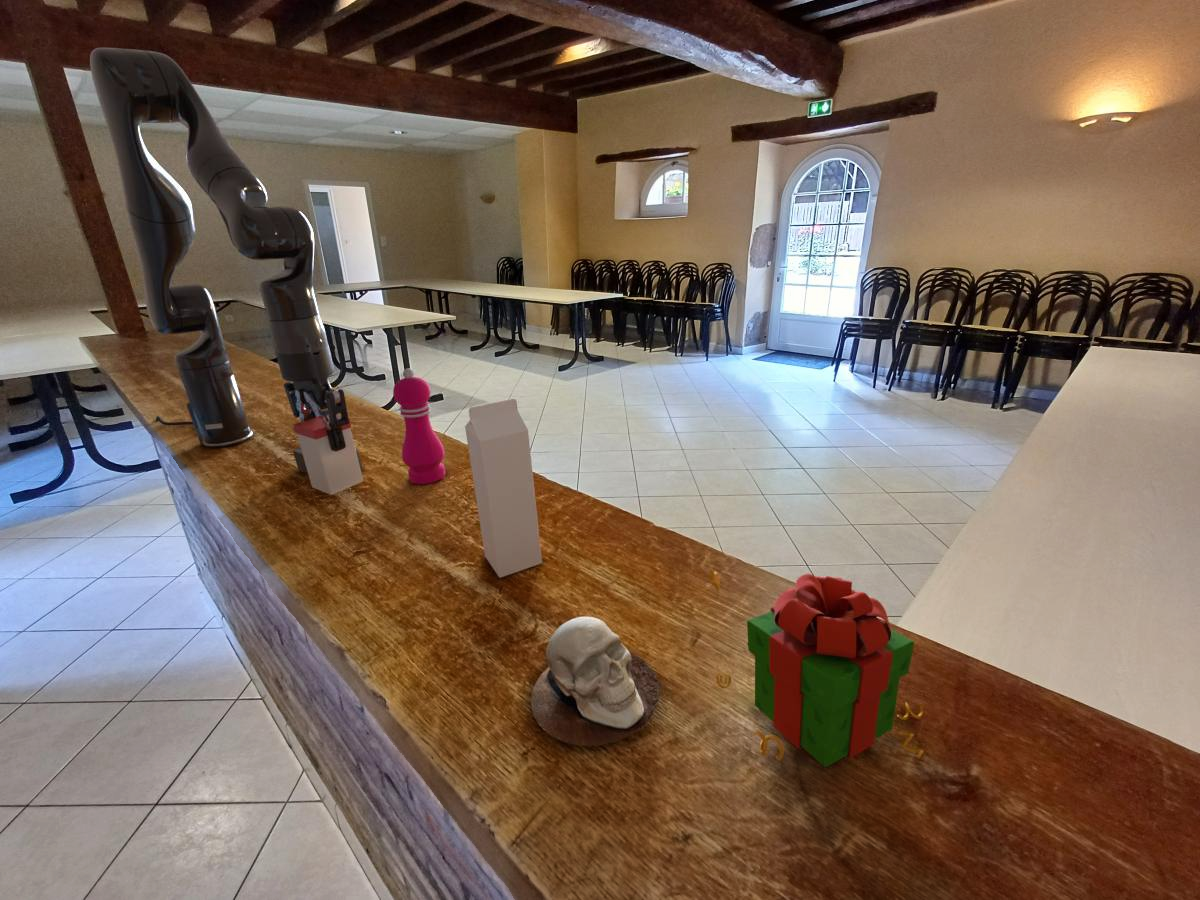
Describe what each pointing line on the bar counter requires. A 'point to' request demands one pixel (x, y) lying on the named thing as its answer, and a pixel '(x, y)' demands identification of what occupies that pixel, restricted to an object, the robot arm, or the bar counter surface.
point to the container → (328, 457)
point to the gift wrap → (827, 669)
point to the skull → (592, 686)
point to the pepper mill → (418, 430)
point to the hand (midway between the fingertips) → (327, 445)
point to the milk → (504, 486)
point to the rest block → (301, 462)
